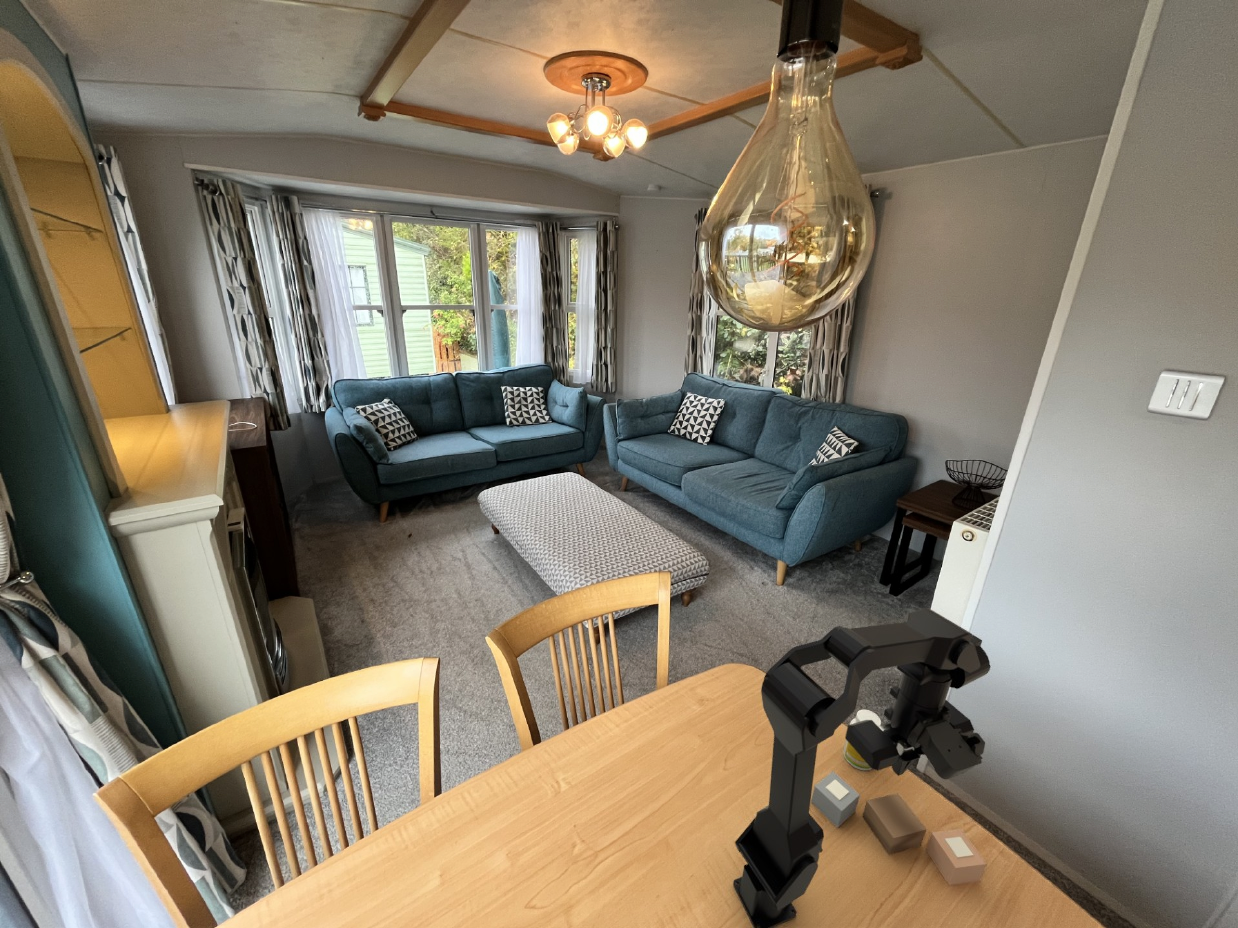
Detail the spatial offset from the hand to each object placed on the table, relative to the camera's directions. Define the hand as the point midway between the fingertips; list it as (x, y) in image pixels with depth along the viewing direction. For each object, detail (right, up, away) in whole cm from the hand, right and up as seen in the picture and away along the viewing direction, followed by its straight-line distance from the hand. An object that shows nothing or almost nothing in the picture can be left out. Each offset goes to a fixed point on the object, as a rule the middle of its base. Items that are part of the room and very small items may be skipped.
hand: (897, 772), depth 78 cm
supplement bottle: (+1, -7, +16) cm, 17 cm away
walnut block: (+1, -12, +4) cm, 12 cm away
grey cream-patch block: (-7, -10, +7) cm, 14 cm away
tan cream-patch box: (+8, -13, -1) cm, 15 cm away
